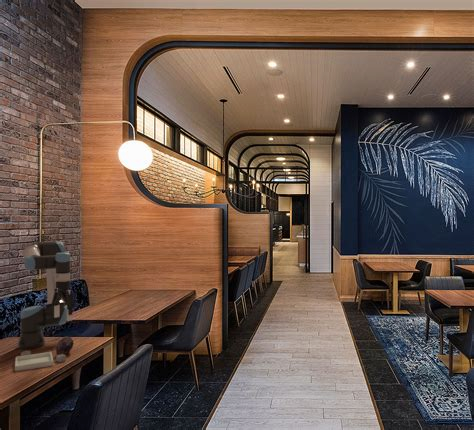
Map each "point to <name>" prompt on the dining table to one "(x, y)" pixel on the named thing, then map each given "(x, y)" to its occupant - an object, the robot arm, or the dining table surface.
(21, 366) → the dish
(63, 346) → the rock
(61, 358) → the squat grey cube
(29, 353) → the matte grey cube
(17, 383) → the dining table surface
